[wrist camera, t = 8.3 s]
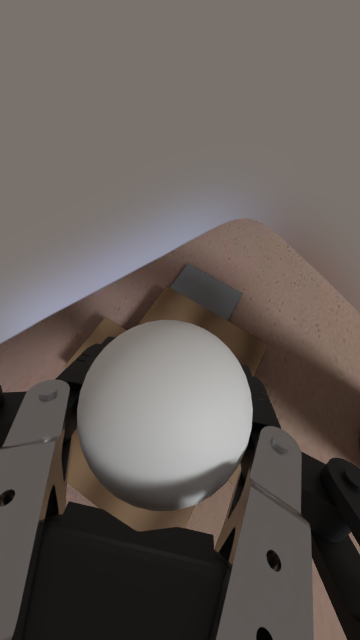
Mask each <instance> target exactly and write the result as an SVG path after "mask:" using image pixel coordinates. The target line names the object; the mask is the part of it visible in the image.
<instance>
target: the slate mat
mask: <svg viewBox="0 0 360 640" xmlns="http://www.w3.org/2000/svg"><path fill="white" fill-rule="evenodd" d="M170 288H171V289H173V290H175V291H177V292H178V293H180V294H182V295H184V296H185V297H187V298H189V299H191V300H192V301H194V302H196V303H198V304H199V305H201V306H203V307H205V308H206V309H208V310H210V311H211V312H213V313H215V314H217V315H218V316H220V317H222V318H224V319H225V320H227V321H228V319H229V317H230V315H231V314H232V312H233V310H234V308H235V306H236V305H237V303H238V301H239V299H240V298H241V296H242V294H243V293H241V292H239V291H238V290H236V289H234V288H232V287H230V286H228V285H227V284H225V283H223V282H221V281H219V280H217V279H216V278H214V277H212V276H210V275H208V274H206V273H205V272H203V271H201V270H199V269H197V268H195V267H194V266H192V265H190V264H187V265H186V266H185V268H184V269H183V270H182V272H181V273H180V275H179V276H178V277H177V279H176V280H175V281H174V283H173V284H172V285H171V287H170Z"/></svg>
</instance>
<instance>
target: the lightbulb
mask: <svg viewBox="0 0 360 640" xmlns="http://www.w3.org/2000/svg"><path fill="white" fill-rule="evenodd" d="M252 414H253V408H252V399H251V392H250V388H249V385H248V382H247V378H246V375H245V373H244V371H243V369H242V367H241V365H240V363H239V361H238V360H237V358H236V357H235V356H234V354H233V353H232V352H231V350H230V349H229V348H228V347H227V346H226V345H225V344H224V343H223V342H222V341H221V340H220V339H219V338H218V337H216V336H215V335H213V334H212V333H210V332H208V331H207V330H205V329H203V328H201V327H199V326H196V325H194V324H191V323H187V322H182V321H177V320H158V321H152V322H146V323H144V324H141V325H138V326H135V327H132V328H131V329H129V330H127V331H125V332H124V333H122V334H120V335H119V336H117V337H116V338H115V339H114V340H113V341H111V342H110V343H109V344H108V345H107V346H106V347H105V348H104V349H103V350H102V352H101V353H100V354H99V355H98V356H97V357H96V359H95V360H94V362H93V364H92V366H91V367H90V369H89V371H88V372H87V374H86V377H85V380H84V382H83V385H82V388H81V391H80V396H79V402H78V407H77V431H78V435H79V440H80V445H81V449H82V452H83V454H84V456H85V459H86V461H87V463H88V466H89V468H90V469H91V471H92V472H93V473H94V475H95V476H96V478H97V479H98V480H99V482H100V483H101V484H102V485H103V486H104V487H105V488H106V489H107V490H108V491H110V492H111V493H112V494H113V495H114V496H115V497H116V498H118V499H120V500H122V501H124V502H126V503H128V504H130V505H132V506H134V507H138V508H142V509H146V510H150V511H176V510H179V509H183V508H186V507H190V506H194V505H196V504H197V503H199V502H201V501H203V500H205V499H206V498H208V497H210V496H212V495H213V494H214V493H215V492H216V491H217V490H218V489H220V488H221V487H222V486H223V485H224V484H225V483H226V482H227V481H228V480H229V478H230V477H231V475H232V474H233V473H234V471H235V470H236V469H237V467H238V466H239V464H240V462H241V459H242V457H243V455H244V453H245V451H246V449H247V445H248V441H249V437H250V433H251V429H252Z"/></svg>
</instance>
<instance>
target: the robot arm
mask: <svg viewBox="0 0 360 640" xmlns="http://www.w3.org/2000/svg"><path fill="white" fill-rule="evenodd" d="M114 339H115V337H110V336H108V337H107V338H106V339H105V340H104V342H103V343H102V344H98V343H96V344H94V345H92V346H90V347H88V348H87V349H86V350H85V351H83V352H82V353H81V355H79V356H78V357H77V358H76V360H74V361H73V362H72V363H71V364H70V365H69V366H68V367H67V368H66V369H65V370H64V371H63V372H62V373H61V374H60V375H59V376H58V377H57V378H56V379H55V380H47V381H43V382H41V383H38V384H36V385H35V386H33V387H32V388H30V389H29V390H28V392H8V393H3V392H2V388H1V385H0V640H314V638H313V595H312V558H313V561H314V563H315V565H316V568H317V570H318V572H319V575H320V577H321V579H322V582H323V584H324V586H325V589H326V591H327V593H328V596H329V598H330V600H331V603H332V605H333V607H334V610H335V612H336V614H337V617H338V619H339V621H340V624H341V626H342V628H343V631H344V633H345V635H346V638H347V640H360V555H359V553H358V551H357V549H356V548H355V546H354V544H353V542H352V541H351V539H350V537H349V535H348V534H349V533H351V532H352V534H353V536H354V537H355V539H356V541H357V542H358V544H359V546H360V469H359V468H358V467H356V466H355V465H353V464H352V463H350V462H348V461H346V460H344V459H340V458H332V459H330V460H329V462H328V463H327V464H324V463H322V462H320V461H318V460H316V459H314V458H312V457H310V456H308V455H306V454H305V453H303V452H301V450H300V448H299V446H298V444H297V443H296V441H295V440H294V439H293V438H292V437H291V436H290V435H289V434H288V433H286V432H285V431H283V430H282V429H281V427H280V424H279V422H278V419H277V417H276V414H275V412H274V409H273V407H272V404H271V403H270V399H269V397H268V395H267V392H266V389H265V387H264V385H263V384H262V383H261V381H260V380H259V379H258V378H257V377H253V376H252V375H251V372H250V369H249V366H247V365H243V364H240V365H241V367H242V369H243V371H244V373H245V375H246V378H247V382H248V385H249V388H250V392H251V399H252V408H253V414H252V429H251V433H250V437H249V441H248V445H247V449H246V451H245V453H244V455H243V457H242V459H241V462H240V464H241V471H240V473H239V475H238V479H237V482H236V485H235V489H234V492H233V495H232V499H231V502H230V505H229V509H228V512H227V516H226V519H225V522H224V525H223V528H222V531H221V533H220V535H219V538H218V541H217V543H216V546H215V549H214V540H213V535H211V534H206V533H202V532H198V531H194V530H189V529H185V528H181V527H171V528H164V529H156V530H149V531H136V530H134V529H132V528H131V527H129V526H128V525H126V524H125V523H123V522H122V521H120V520H119V519H117V518H116V517H114V516H113V515H111V514H110V513H108V512H107V511H105V510H104V509H99V508H95V507H91V506H86V505H82V504H78V503H73V502H69V503H68V505H67V507H66V509H65V506H66V487H67V479H68V472H69V464H70V457H71V450H72V442H73V433H74V432H75V430H76V428H77V407H78V402H79V396H80V391H81V388H82V385H83V382H84V380H85V377H86V374H87V372H88V371H89V369H90V367H91V366H92V364H93V362H94V360H95V359H96V357H97V356H98V355H99V354H100V353H101V352H102V350H103V349H104V348H105V347H106V346H107V345H108V344H109V343H110V342H111V341H113V340H114Z"/></svg>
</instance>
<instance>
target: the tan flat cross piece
mask: <svg viewBox="0 0 360 640" xmlns="http://www.w3.org/2000/svg"><path fill="white" fill-rule="evenodd" d="M158 320H177V321H182V322H187V323H191V324H194V325H196V326H199V327H201V328H203V329H205V330H207V331H208V332H210V333H212V334H213V335H215V336H216V337H218V338H219V339H220V340H221V341H222V342H223V343H224V344H225V345H226V346H227V347H228V348H229V349H230V350H231V352H232V353H233V354H234V356H235V357H236V358H237V360H238V361H239V363H240V364H243V365H247V366H249V369H250V372H251V375H252V376H253V377H254V375H255V373H256V371H257V369H258V366H259V364H260V362H261V360H262V358H263V355H264V353H265V351H266V349H267V347H268V344H267V343H265V342H264V341H262V340H260V339H258V338H257V337H255V336H253V335H252V334H250V333H248V332H246V331H245V330H243V329H241V328H239V327H238V326H236V325H234V324H232V323H231V322H229V321H227V320H225V319H224V318H222V317H220V316H218V315H217V314H215V313H213V312H211V311H210V310H208V309H206V308H205V307H203V306H201V305H199V304H198V303H196V302H194V301H192V300H191V299H189V298H187V297H185V296H184V295H182V294H180V293H178V292H177V291H175V290H173V289H171V288H170V287H168V286H166V287H165V288H164V290H163V291H162V293H161V294H160V295H159V297H158V298H157V299H156V301H155V302H154V303H153V305H152V306H151V307H150V309H149V310H148V311H147V313H146V314H145V315H144V317H143V318H142V319H141V321H140V322H139V323H138V325H141V324H144V323H146V322H152V321H158ZM138 325H137V326H138ZM125 331H127V330H125V329H124V328H122V327H121V326H119V325H117V324H116V323H114V322H113V321H111V320H109V319H108V318H106V317H105V318H104V319H103V320H102V321H101V323H100V324H99V325H98V326H97V328H96V329H95V330H94V331H93V332H92V334H91V335H90V336H89V337H88V338H87V340H86V341H85V342H84V343H83V344H82V346H81V347H80V348H79V349H78V351H77V352H76V353H75V354H74V355H73V357H72V358H71V359H70V360H69V361H68V363H67V364H66V365H65V366H64V367H66V368H67V367H68V366H69V365H70V364H71V363H72V362H73V361H74V360H76V358H77V357H78V356H79V355H81V353H82V352H83V351H85V350H86V349H87V348H88V347H90V346H92V345H94V344H96V343H98V344H102V343H103V342H104V340H105V339H106V338H107V337H108V336H110V337H115V338H116V337H117V336H119V335H120V334H122V333H124V332H125ZM240 471H241V464H239V466H238V467H237V469H236V470H235V471H234V473H233V474H232V475H231V477H230V478H229V480H228V481H229V482H230V483H231V484H233V485H234V486H235V485H236V482H237V479H238V475H239V473H240ZM67 483H68V484H70V485H71V486H72V487H73V488H75V489H76V490H77V491H78V492H80V493H81V494H82V495H83V496H85V497H86V498H87V499H88V500H90V501H91V502H92V503H93V504H95V505H96V506H97V507H98V508H100V509H104V510H105V511H107V512H108V513H110V514H111V515H113V516H114V517H116V518H117V519H119V520H120V521H122V522H123V523H125V524H126V525H128V526H129V527H131V528H132V529H134V530H136V531H149V530H156V529H164V528H171V527H181V528H185V527H186V524H187V522H188V520H189V518H190V516H191V513H192V511H193V509H194V507H195V505H194V506H190V507H186V508H183V509H179V510H176V511H150V510H146V509H142V508H138V507H134V506H132V505H130V504H128V503H126V502H124V501H122V500H120V499H118V498H116V497H115V496H114V495H113V494H112V493H111V492H110V491H108V490H107V489H106V488H105V487H104V486H103V485H102V484H101V483H100V482H99V480H98V479H97V478H96V476H95V475H94V473H93V472H92V471H91V469H90V468H89V466H88V463H87V461H86V459H85V456H84V454H83V452H82V449H81V445H80V440H79V435H78V431H77V428H76V430H75V432H74V433H73V442H72V450H71V457H70V464H69V472H68V479H67Z"/></svg>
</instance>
